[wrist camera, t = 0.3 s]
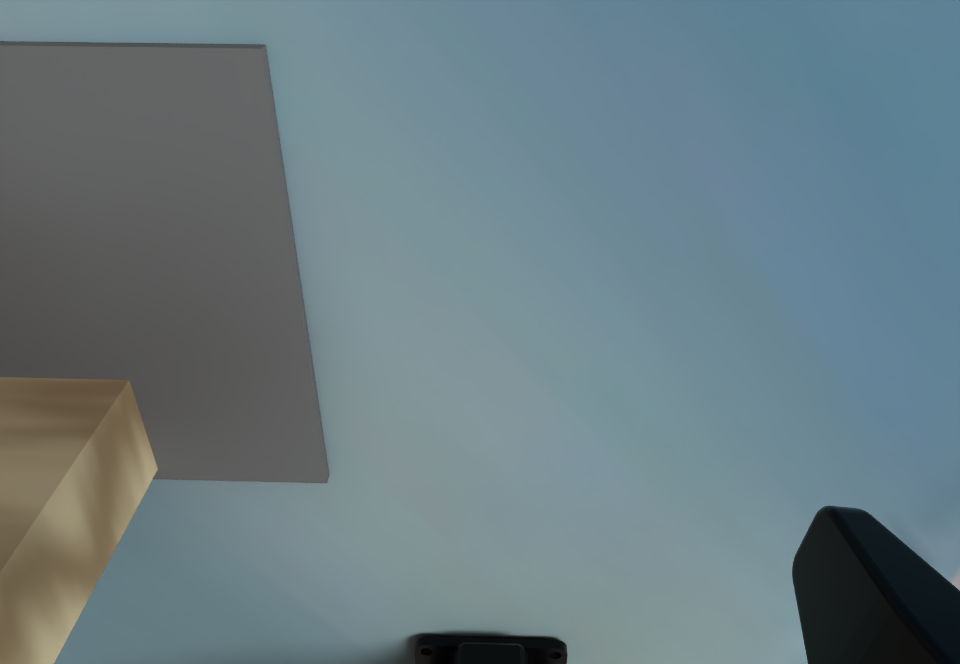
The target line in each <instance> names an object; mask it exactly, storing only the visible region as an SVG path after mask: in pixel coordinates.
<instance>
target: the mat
mask: <svg viewBox="0 0 960 664" xmlns="http://www.w3.org/2000/svg"><path fill="white" fill-rule="evenodd" d="M0 377H12V378H58V379H105V380H129V381H130V384H131V387H132V390H133V393H134V396H135V399H136V403H137V406H138V409H139V412H140V415H141V418H142V421H143V424H144V427H145V431H146V434H147V437H148V440H149V443H150V446H151V449H152V452H153V455H154V459H155V462H156V465H157V468H158V470H157V472H156V473H155V475H154V477H153V479H176V480H217V481H258V482H300V483H327V482H328V478H329V470H328V463H327V457H326V450H325V443H324V436H323V430H322V423H321V416H320V409H319V402H318V396H317V389H316V382H315V375H314V369H313V362H312V355H311V348H310V341H309V335H308V328H307V321H306V314H305V308H304V301H303V294H302V287H301V281H300V274H299V267H298V260H297V253H296V247H295V240H294V233H293V226H292V220H291V213H290V206H289V199H288V193H287V186H286V179H285V172H284V165H283V159H282V152H281V145H280V138H279V132H278V125H277V118H276V111H275V104H274V98H273V91H272V84H271V77H270V71H269V64H268V57H267V50H266V45H253V44H170V43H88V42H5V41H0Z"/></svg>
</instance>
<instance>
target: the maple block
mask: <svg viewBox="0 0 960 664" xmlns="http://www.w3.org/2000/svg"><path fill="white" fill-rule="evenodd" d="M157 470H158V468H157V465H156V462H155V459H154V455H153V452H152V449H151V446H150V443H149V440H148V437H147V434H146V431H145V427H144V424H143V421H142V418H141V415H140V412H139V409H138V406H137V403H136V399H135V396H134V393H133V390H132V387H131V384H130V381H129V380H105V379H58V378H12V377H0V664H54V662H55V660H56V658H57V656H58V655H59V653H60V651H61V649H62V647H63V645H64V643H65V642H66V640H67V638H68V636H69V634H70V632H71V630H72V628H73V627H74V625H75V623H76V621H77V619H78V617H79V615H80V614H81V612H82V610H83V608H84V606H85V604H86V602H87V600H88V599H89V597H90V595H91V593H92V591H93V589H94V587H95V586H96V584H97V582H98V580H99V578H100V576H101V574H102V572H103V571H104V569H105V567H106V565H107V563H108V561H109V559H110V558H111V556H112V554H113V552H114V550H115V548H116V546H117V544H118V543H119V541H120V539H121V537H122V535H123V533H124V531H125V529H126V528H127V526H128V524H129V522H130V520H131V518H132V516H133V515H134V513H135V511H136V509H137V507H138V505H139V503H140V501H141V500H142V498H143V496H144V494H145V492H146V490H147V488H148V487H149V485H150V483H151V481H152V479H153V477H154V475H155V473H156V472H157Z"/></svg>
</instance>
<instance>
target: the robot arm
mask: <svg viewBox="0 0 960 664" xmlns="http://www.w3.org/2000/svg"><path fill="white" fill-rule="evenodd" d="M792 577H793V584H794V589H795V595H796V600H797V606H798V611H799V617H800V622H801V628H802V633H803V638H804V644H805V649H806V655H807V660H808V664H960V591H959V590H958V589H957V588H956V587H955V586H954V585H952V584H951V583H950V582H949V581H948V580H947V579H945V578H944V577H943V576H942V575H941V574H940V573H938V572H937V571H936V570H935V569H934V568H933V567H931V566H930V565H929V564H928V563H927V562H925V561H924V560H923V559H922V558H921V557H920V556H918V555H917V554H916V553H915V552H914V551H913V550H911V549H910V548H909V547H908V546H907V545H906V544H904V543H903V542H902V541H901V540H900V539H899V538H897V537H896V536H895V535H894V534H893V533H892V532H890V531H889V530H888V529H887V528H886V527H884V526H883V525H882V524H881V523H880V522H879V521H877V520H876V519H875V518H874V517H873V516H872V515H870V514H869V513H867V512H866V511H864V510H861V509H857V508H847V507H837V506H825V507H823V508H821V509H820V510H819V511H818V512H817V514H816V515H815V517H814V519H813V521H812V523H811V525H810V527H809V529H808V531H807V533H806V535H805V537H804V539H803V541H802V543H801V545H800V547H799V549H798V551H797V553H796V555H795V558H794V562H793V568H792ZM415 659H416V664H566V663H567V646H566V644H565V643H564V642H562V641H558V640H534V639H499V638H464V637H429V636H427V637H421V638H419V639H418V640H417V641H416V646H415Z"/></svg>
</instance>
